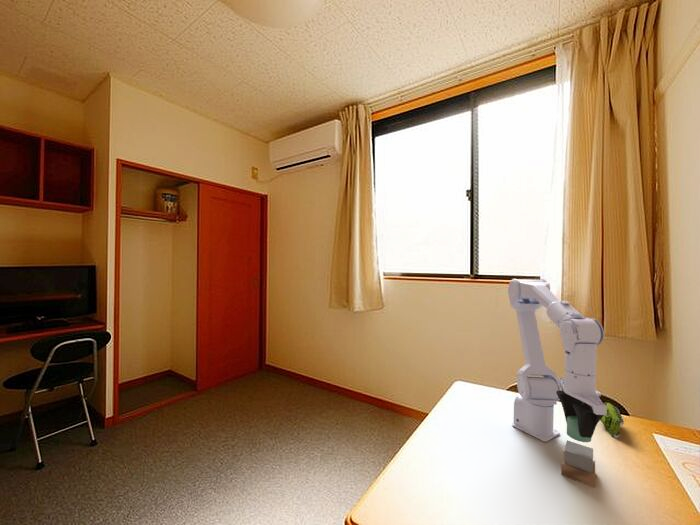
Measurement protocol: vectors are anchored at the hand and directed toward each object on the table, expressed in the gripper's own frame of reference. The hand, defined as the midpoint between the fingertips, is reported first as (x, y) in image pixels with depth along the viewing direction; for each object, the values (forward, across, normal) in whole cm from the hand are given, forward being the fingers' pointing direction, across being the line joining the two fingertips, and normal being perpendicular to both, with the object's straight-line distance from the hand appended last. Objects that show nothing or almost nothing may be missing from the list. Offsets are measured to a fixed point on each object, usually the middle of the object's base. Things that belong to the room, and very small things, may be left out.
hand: (578, 430), depth 69 cm
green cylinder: (+1, 0, 0) cm, 1 cm away
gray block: (+8, 0, 0) cm, 8 cm away
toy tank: (+11, +20, -19) cm, 30 cm away
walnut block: (+11, 0, 0) cm, 11 cm away
